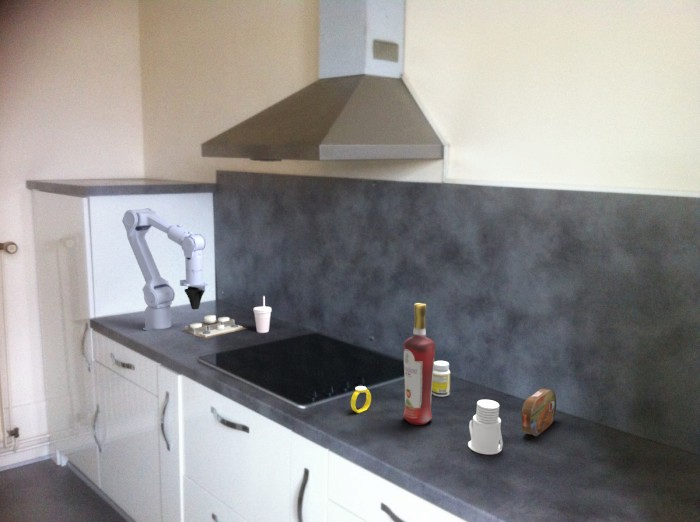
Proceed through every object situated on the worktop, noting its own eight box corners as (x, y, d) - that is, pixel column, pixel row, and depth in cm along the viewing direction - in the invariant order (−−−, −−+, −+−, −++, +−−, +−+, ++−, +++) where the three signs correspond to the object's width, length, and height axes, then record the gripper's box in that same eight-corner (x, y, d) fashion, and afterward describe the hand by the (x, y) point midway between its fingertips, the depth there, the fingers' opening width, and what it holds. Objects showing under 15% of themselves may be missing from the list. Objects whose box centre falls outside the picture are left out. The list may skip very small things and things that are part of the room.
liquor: (395, 419, 153) (397, 303, 148) (418, 412, 157) (421, 299, 153) (416, 429, 147) (418, 309, 142) (439, 422, 151) (443, 305, 147)
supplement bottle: (439, 389, 173) (439, 359, 172) (453, 393, 170) (454, 363, 169) (427, 393, 170) (428, 362, 169) (442, 398, 167) (443, 366, 165)
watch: (357, 416, 155) (356, 393, 154) (348, 413, 157) (347, 390, 156) (373, 408, 159) (372, 385, 158) (365, 405, 161) (364, 383, 160)
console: (181, 335, 225) (181, 325, 225) (222, 325, 239) (222, 316, 238) (205, 342, 216) (205, 332, 215) (247, 332, 229) (247, 322, 229)
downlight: (459, 446, 138) (462, 402, 137) (478, 436, 143) (481, 394, 141) (491, 460, 133) (495, 414, 131) (509, 449, 138) (513, 405, 136)
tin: (531, 441, 141) (533, 404, 140) (517, 437, 143) (519, 401, 142) (556, 420, 153) (558, 386, 152) (543, 417, 155) (545, 383, 154)
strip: (198, 334, 220) (198, 328, 220) (235, 326, 232) (235, 320, 232) (205, 336, 217) (205, 330, 217) (242, 328, 229) (242, 322, 229)
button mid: (202, 322, 228) (201, 316, 228) (211, 320, 231) (211, 314, 231) (208, 324, 226) (208, 318, 225) (218, 322, 229) (218, 316, 228)
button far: (215, 324, 233) (215, 318, 233) (224, 322, 236) (224, 316, 236) (222, 326, 230) (222, 320, 230) (231, 324, 233) (231, 318, 233)
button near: (187, 330, 224) (187, 324, 224) (197, 328, 227) (197, 322, 227) (194, 332, 221) (194, 326, 221) (204, 330, 224) (204, 324, 224)
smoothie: (270, 337, 222) (270, 298, 220) (252, 337, 223) (251, 297, 220) (273, 333, 229) (272, 294, 227) (255, 332, 229) (254, 294, 227)
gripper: (171, 268, 223) (173, 307, 225) (197, 273, 213) (198, 314, 215) (189, 266, 228) (190, 304, 230) (214, 271, 218) (215, 310, 221)
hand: (195, 308), depth 223 cm, fingers closed
